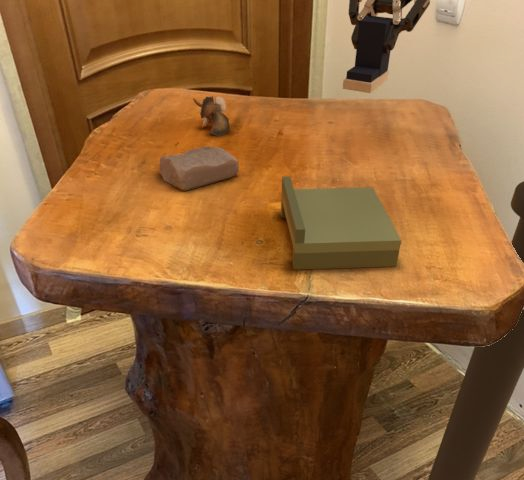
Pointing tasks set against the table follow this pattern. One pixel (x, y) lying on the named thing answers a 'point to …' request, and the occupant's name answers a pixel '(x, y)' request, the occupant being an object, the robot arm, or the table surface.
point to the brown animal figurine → (214, 114)
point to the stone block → (198, 167)
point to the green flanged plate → (338, 228)
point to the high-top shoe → (369, 56)
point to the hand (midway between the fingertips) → (370, 48)
